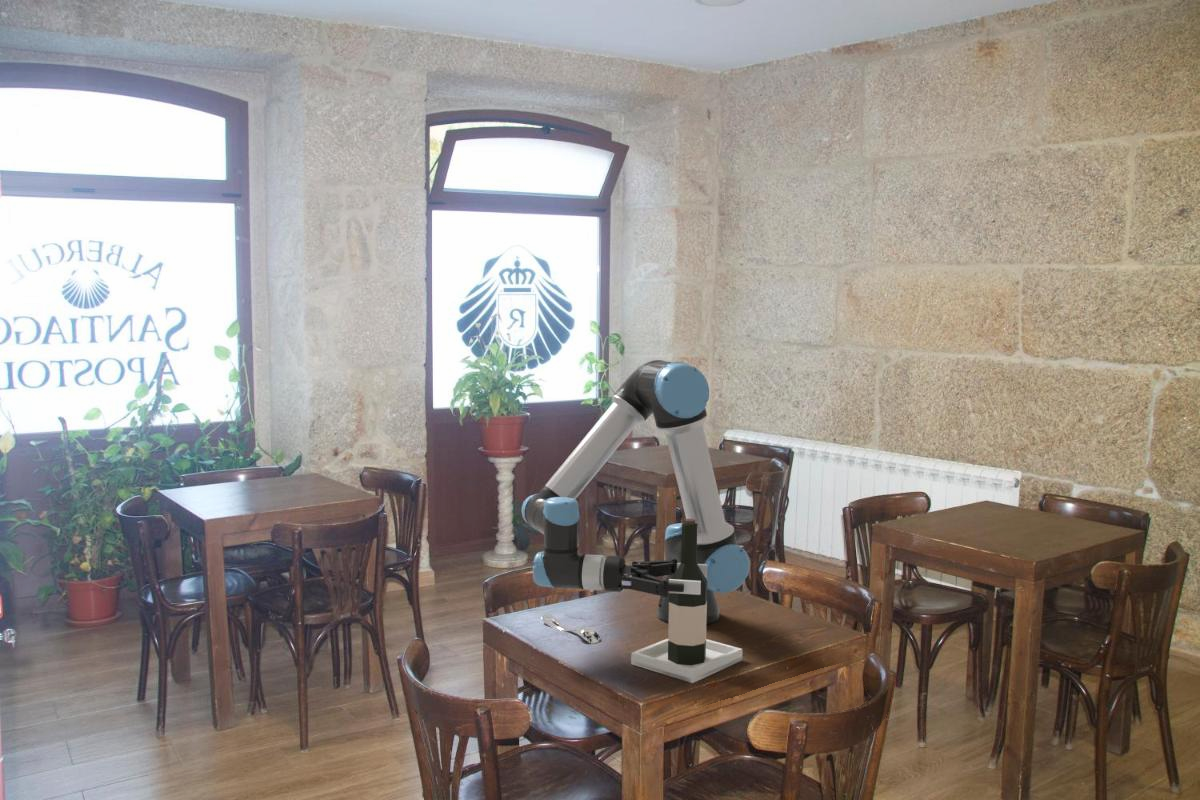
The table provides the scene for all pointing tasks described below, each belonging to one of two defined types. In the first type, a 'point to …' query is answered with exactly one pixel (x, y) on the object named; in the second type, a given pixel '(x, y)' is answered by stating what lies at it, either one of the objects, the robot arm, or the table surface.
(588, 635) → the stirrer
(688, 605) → the wine bottle
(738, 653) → the serving tray
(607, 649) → the table surface
